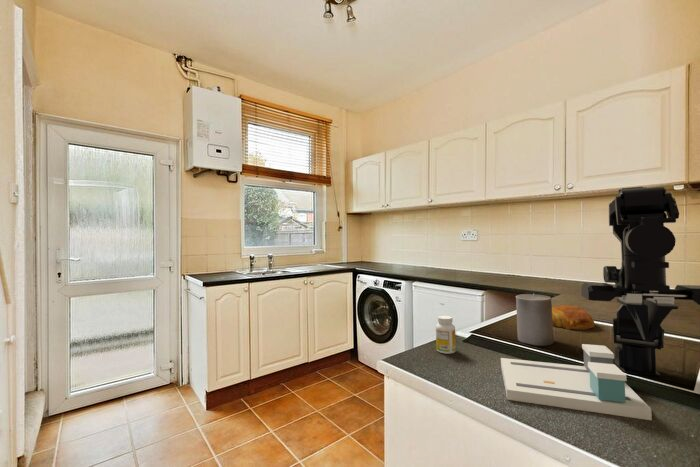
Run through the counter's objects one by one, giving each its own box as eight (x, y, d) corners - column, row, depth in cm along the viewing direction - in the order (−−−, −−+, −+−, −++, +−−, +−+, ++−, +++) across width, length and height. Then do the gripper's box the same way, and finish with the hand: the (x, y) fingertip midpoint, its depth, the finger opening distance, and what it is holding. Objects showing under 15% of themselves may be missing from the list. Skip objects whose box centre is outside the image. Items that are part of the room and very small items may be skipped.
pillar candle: (545, 336, 105) (543, 289, 105) (559, 346, 95) (557, 295, 95) (513, 336, 106) (511, 290, 107) (523, 345, 97) (521, 295, 97)
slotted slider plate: (612, 378, 74) (611, 368, 74) (651, 420, 57) (651, 408, 57) (500, 365, 82) (500, 357, 82) (507, 399, 66) (506, 389, 66)
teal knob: (615, 390, 64) (614, 364, 64) (627, 403, 59) (626, 375, 59) (588, 386, 65) (587, 361, 65) (597, 399, 60) (596, 372, 60)
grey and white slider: (605, 367, 74) (604, 345, 74) (614, 377, 69) (614, 353, 69) (582, 365, 76) (581, 343, 76) (590, 374, 71) (589, 351, 71)
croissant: (538, 326, 124) (534, 305, 125) (579, 319, 124) (575, 298, 124) (561, 336, 110) (556, 313, 110) (607, 329, 109) (603, 306, 110)
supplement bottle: (449, 346, 97) (448, 314, 97) (459, 353, 92) (458, 318, 92) (433, 348, 96) (432, 315, 96) (442, 355, 91) (441, 320, 91)
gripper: (685, 253, 64) (688, 332, 64) (573, 253, 71) (575, 324, 71) (723, 256, 54) (727, 351, 54) (588, 256, 61) (590, 339, 61)
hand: (646, 340), depth 60 cm, fingers closed
